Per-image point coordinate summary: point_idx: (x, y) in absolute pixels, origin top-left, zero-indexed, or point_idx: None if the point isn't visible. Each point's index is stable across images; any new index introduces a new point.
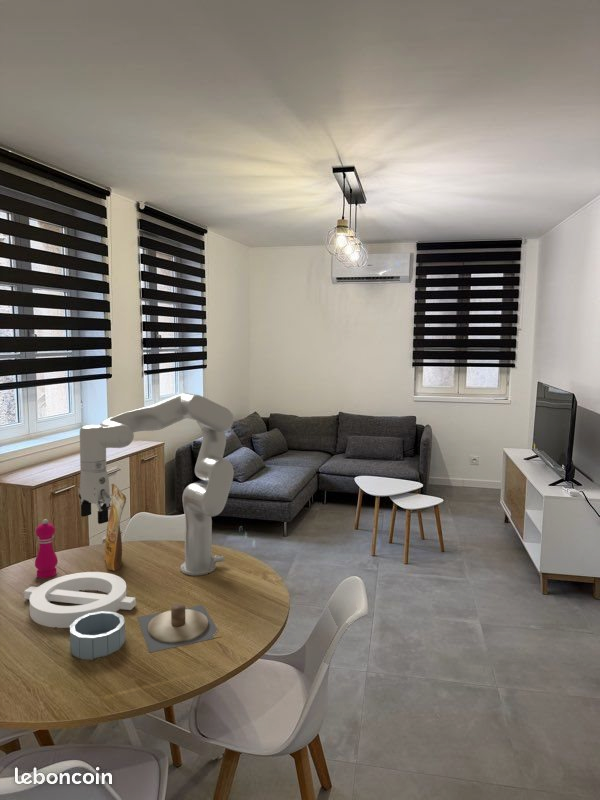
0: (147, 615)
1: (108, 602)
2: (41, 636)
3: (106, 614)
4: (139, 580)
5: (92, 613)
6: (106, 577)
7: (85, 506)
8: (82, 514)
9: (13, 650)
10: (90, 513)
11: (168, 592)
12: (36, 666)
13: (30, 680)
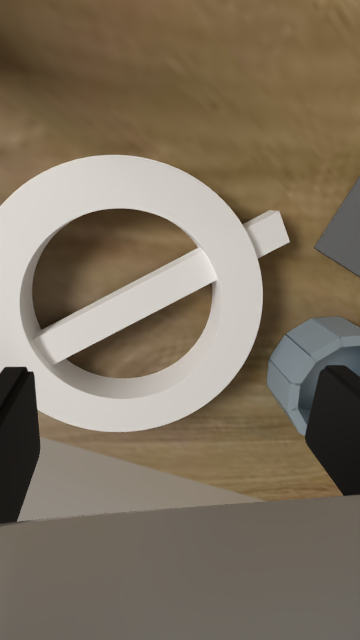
0: (332, 224)
1: (256, 297)
2: (197, 423)
3: (327, 353)
4: (121, 56)
5: (299, 376)
6: (98, 193)
7: (4, 511)
8: (34, 468)
9: (201, 472)
10: (30, 382)
11: (279, 62)
12: (279, 463)
13: (304, 481)
